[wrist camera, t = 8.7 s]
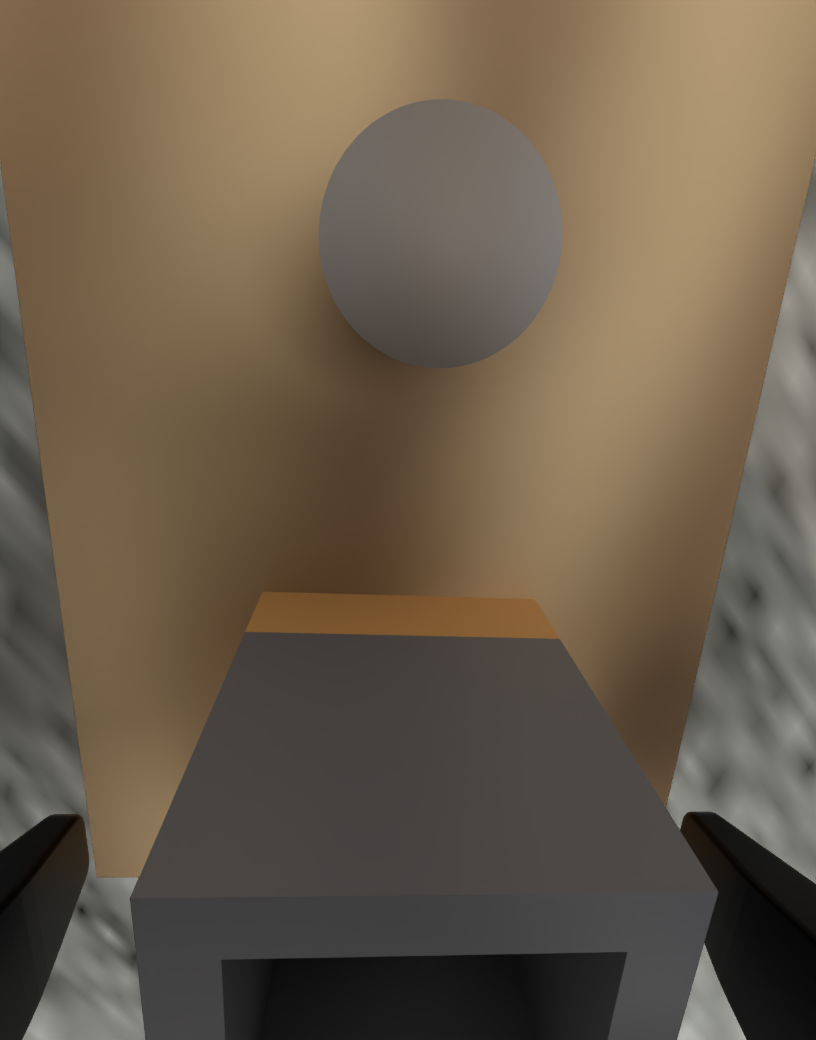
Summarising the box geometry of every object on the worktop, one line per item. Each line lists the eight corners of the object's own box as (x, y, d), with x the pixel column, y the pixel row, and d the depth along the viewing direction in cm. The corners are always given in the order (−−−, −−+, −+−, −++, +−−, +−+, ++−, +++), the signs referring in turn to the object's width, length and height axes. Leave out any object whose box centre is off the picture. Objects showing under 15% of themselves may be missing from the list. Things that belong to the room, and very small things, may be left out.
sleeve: (506, 814, 12) (623, 1230, 7) (266, 815, 12) (169, 1254, 6) (534, 598, 11) (719, 891, 5) (262, 591, 10) (130, 898, 5)
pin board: (801, 38, 9) (1172, -223, 5) (632, 834, 14) (748, 1055, 10) (12, -42, 8) (-368, -443, 4) (116, 838, 13) (-8, 1081, 9)
